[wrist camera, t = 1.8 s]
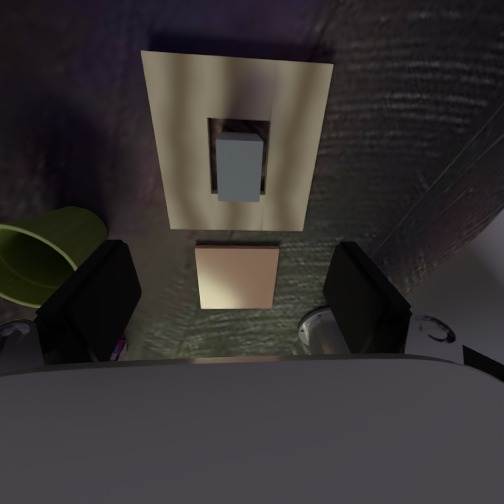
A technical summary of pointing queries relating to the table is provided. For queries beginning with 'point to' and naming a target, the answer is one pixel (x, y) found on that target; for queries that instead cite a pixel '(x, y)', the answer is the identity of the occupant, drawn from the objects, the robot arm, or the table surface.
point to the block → (239, 166)
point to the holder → (235, 107)
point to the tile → (236, 276)
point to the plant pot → (46, 252)
